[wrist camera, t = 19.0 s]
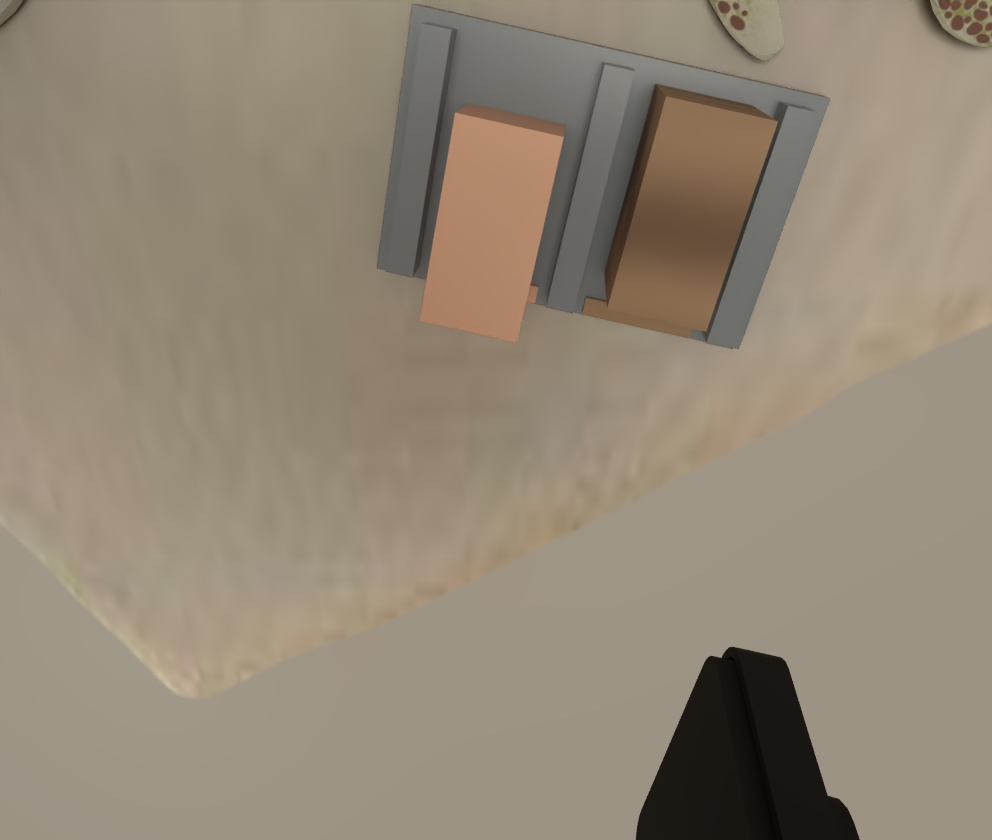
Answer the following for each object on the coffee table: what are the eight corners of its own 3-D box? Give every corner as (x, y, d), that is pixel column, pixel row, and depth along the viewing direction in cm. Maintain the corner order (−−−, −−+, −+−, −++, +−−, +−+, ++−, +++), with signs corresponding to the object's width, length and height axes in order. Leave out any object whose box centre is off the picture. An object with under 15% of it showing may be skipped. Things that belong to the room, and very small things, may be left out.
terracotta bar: (471, 103, 34) (455, 112, 30) (565, 124, 34) (563, 137, 30) (438, 287, 38) (419, 320, 33) (523, 306, 38) (517, 342, 33)
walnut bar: (655, 83, 33) (666, 96, 29) (752, 105, 33) (778, 121, 29) (604, 272, 37) (607, 309, 32) (691, 291, 37) (706, 331, 32)
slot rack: (381, 261, 39) (368, 278, 36) (417, 4, 34) (404, 4, 31) (735, 341, 39) (744, 362, 36) (824, 95, 34) (841, 103, 31)
